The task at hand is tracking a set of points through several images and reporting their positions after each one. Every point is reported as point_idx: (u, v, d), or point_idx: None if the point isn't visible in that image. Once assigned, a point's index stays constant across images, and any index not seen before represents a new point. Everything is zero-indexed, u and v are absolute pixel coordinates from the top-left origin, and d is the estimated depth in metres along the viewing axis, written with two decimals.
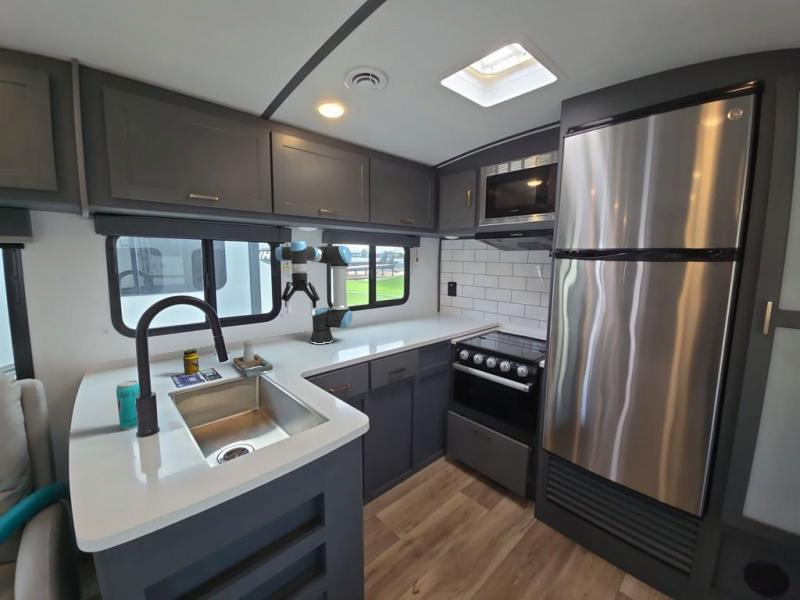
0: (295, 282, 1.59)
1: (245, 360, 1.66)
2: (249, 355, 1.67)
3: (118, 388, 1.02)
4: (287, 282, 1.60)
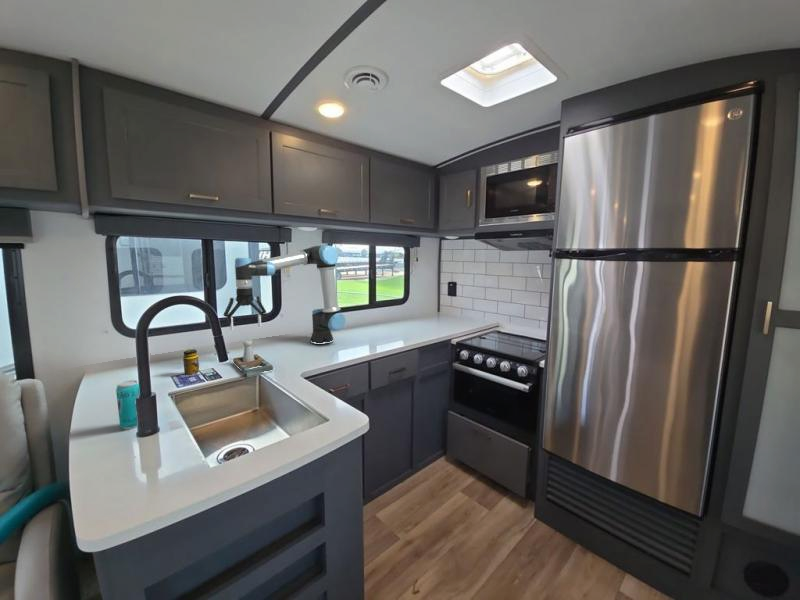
0: (241, 297, 1.62)
1: (245, 360, 1.66)
2: (249, 355, 1.67)
3: (118, 388, 1.02)
4: (232, 298, 1.60)
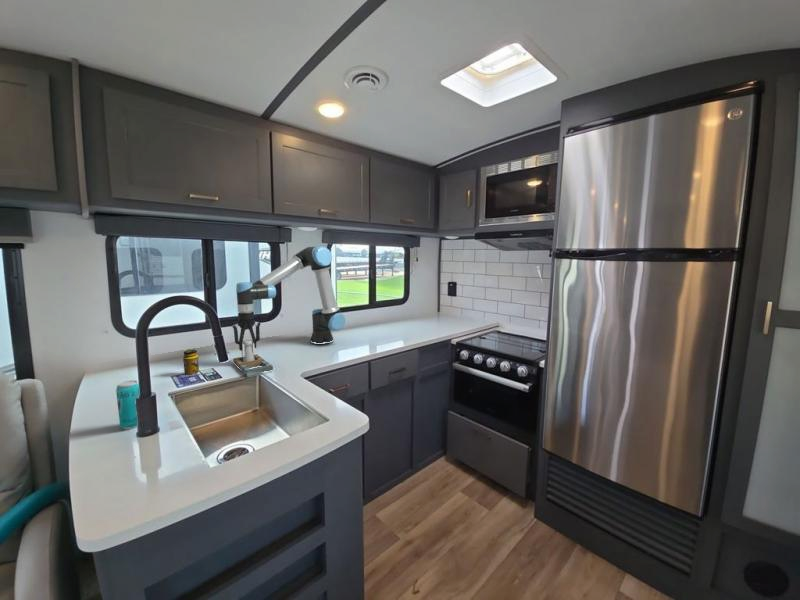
0: (242, 321, 1.64)
1: (245, 360, 1.66)
2: (249, 355, 1.67)
3: (118, 388, 1.02)
4: (234, 326, 1.61)
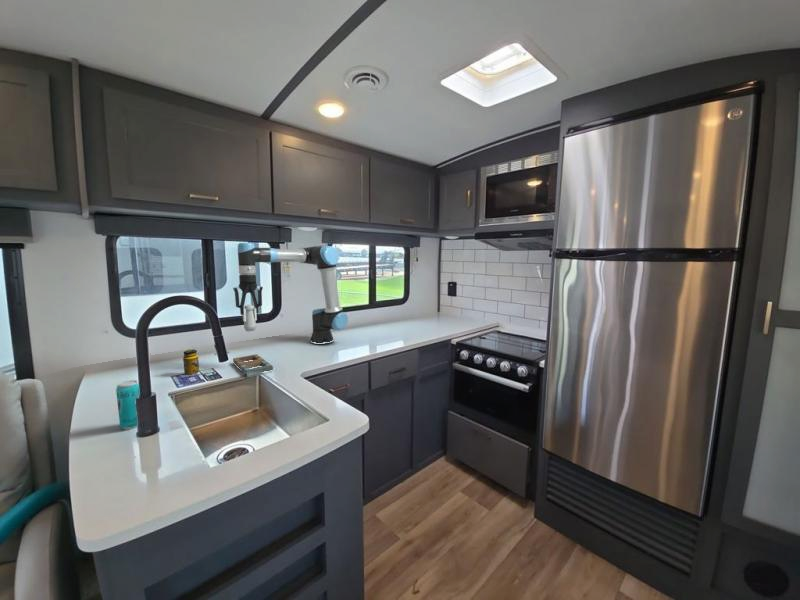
0: (243, 283, 1.55)
1: (246, 325, 1.58)
2: (251, 320, 1.58)
3: (118, 388, 1.02)
4: (235, 288, 1.53)
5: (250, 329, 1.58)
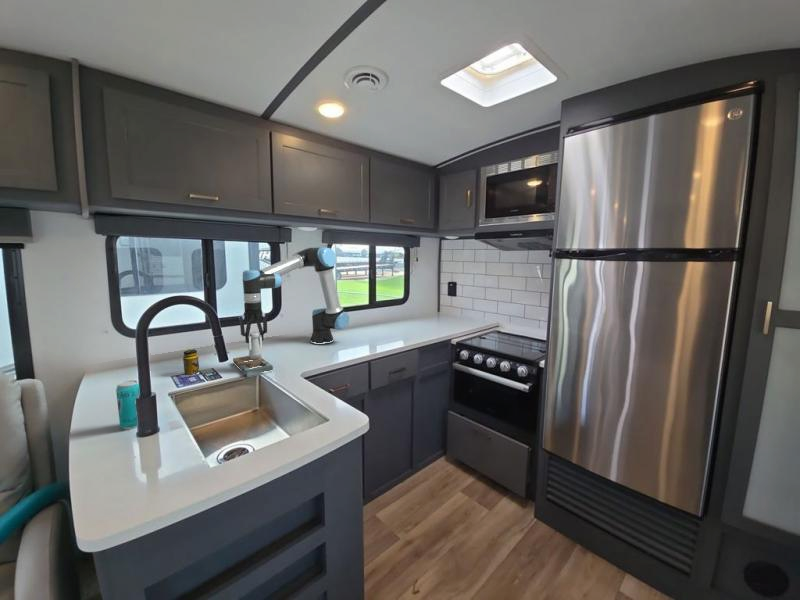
0: (248, 311, 1.53)
1: (252, 353, 1.55)
2: (256, 348, 1.56)
3: (118, 388, 1.02)
4: (240, 316, 1.51)
5: (255, 357, 1.56)
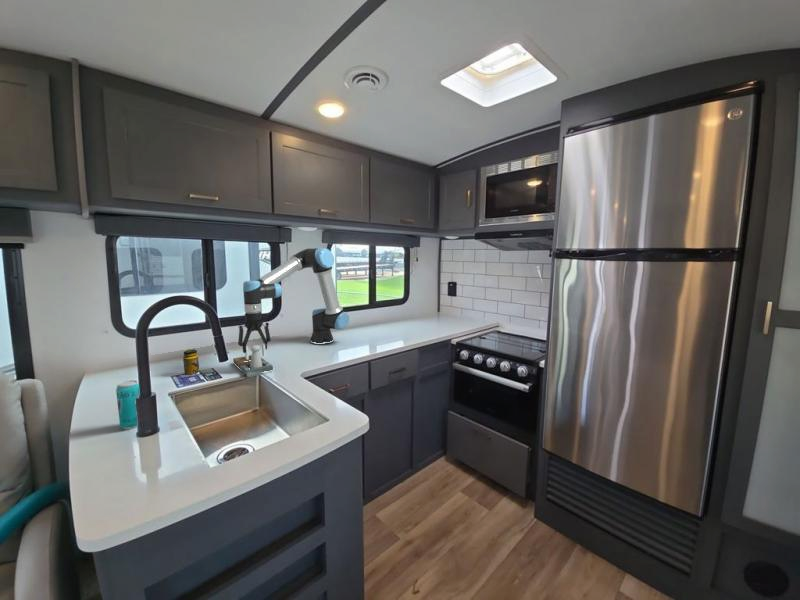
0: (249, 322, 1.54)
1: (253, 366, 1.56)
2: (257, 361, 1.57)
3: (118, 388, 1.02)
4: (240, 326, 1.51)
5: None
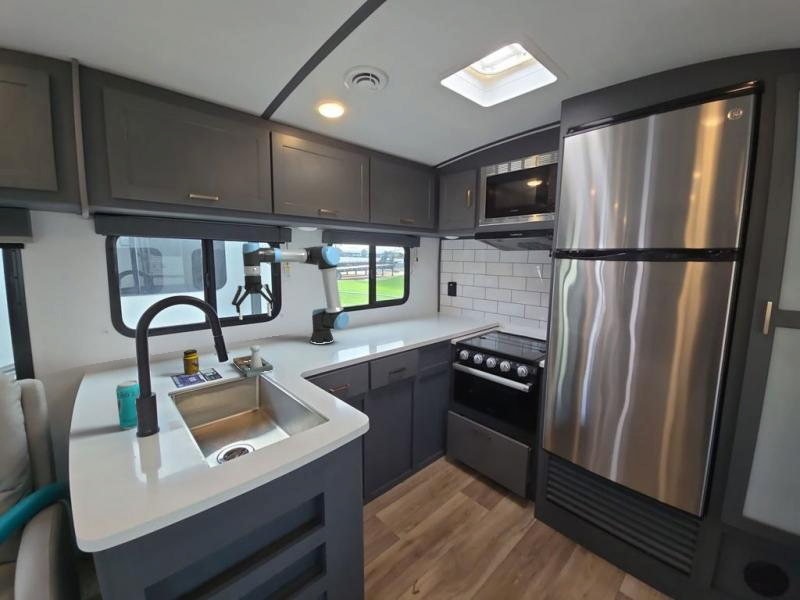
0: (250, 285, 1.54)
1: (252, 366, 1.56)
2: (257, 361, 1.57)
3: (118, 388, 1.02)
4: (240, 286, 1.51)
5: None
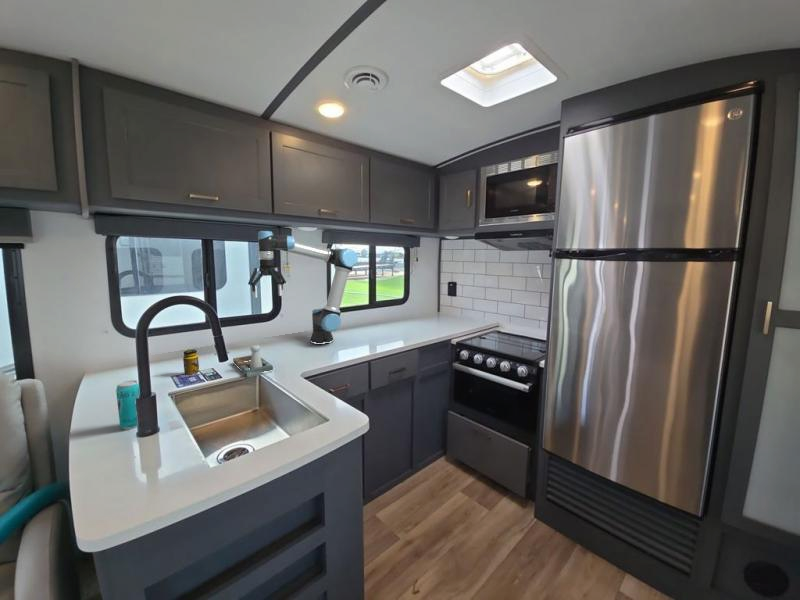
0: (264, 268, 1.77)
1: (252, 366, 1.56)
2: (257, 361, 1.57)
3: (118, 388, 1.02)
4: (256, 268, 1.74)
5: None
